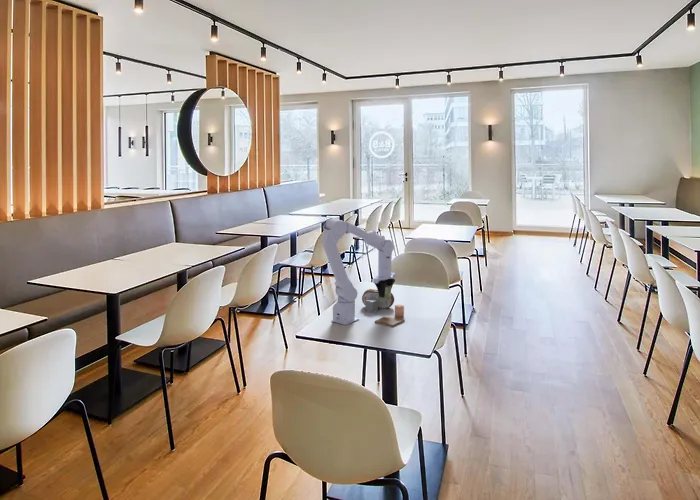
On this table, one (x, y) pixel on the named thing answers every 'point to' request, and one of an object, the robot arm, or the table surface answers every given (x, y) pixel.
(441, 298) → the table surface
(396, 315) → the peach rounded capsule
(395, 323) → the walnut board
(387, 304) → the tin
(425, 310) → the table surface
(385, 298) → the green block
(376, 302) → the grey block
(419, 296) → the table surface
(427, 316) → the table surface
